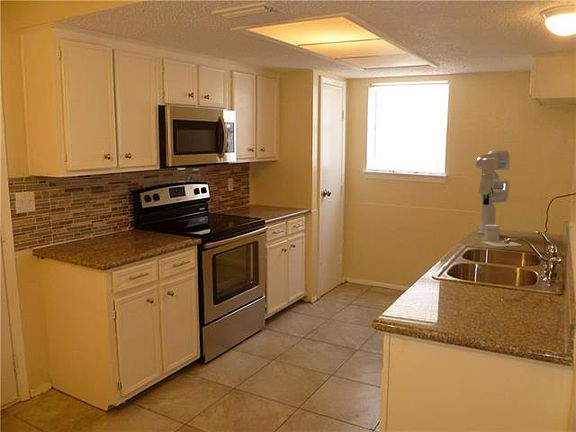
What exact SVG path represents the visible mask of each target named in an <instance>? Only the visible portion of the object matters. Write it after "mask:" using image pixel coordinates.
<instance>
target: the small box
mask: <svg viewBox="0 0 576 432" xmlns="http://www.w3.org/2000/svg"><path fill="white" fill-rule="evenodd" d="M483 236H484V237H483V240H484V242H486V241H500V225H498V224H495V225H485V231H484V234H483Z"/></svg>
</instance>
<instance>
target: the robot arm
mask: <svg viewBox="0 0 576 432" xmlns="http://www.w3.org/2000/svg"><path fill="white" fill-rule="evenodd" d="M475 166H476V168H477V169H479V170H481V179H480V183H479V186H478V188H479V189H478V194H480V197H481V217H480V219H481V220H480V226H478V229H479V230H478V231H477V232H478V234H481V235H484V231H485V225H496V222H497V221H496V219H497V208H496V206H495V203H496V204H505V203H507V201H508V199H509V192H510V182H509V180H507V179H504V178H500V176H499V174H498V173H497V172H496V171H508V170H509V169H510V167H511V157H510V153H509V151H508V150H506V149H492V150H490V151H489V152H488V153H486V154H482V155H479V156H478V157H477V158H476V160H475Z"/></svg>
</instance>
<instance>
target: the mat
mask: <svg viewBox="0 0 576 432" xmlns="http://www.w3.org/2000/svg"><path fill="white" fill-rule="evenodd" d="M504 241H505V240H499V241H481V242H480V243H482V244H484V245H488V246H491V247H494V248H509V247H523V246H524V245H523V244H520V243H517V242H513V241H511V242H510V243H509V244H505V243H504ZM506 246H508V247H506Z"/></svg>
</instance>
